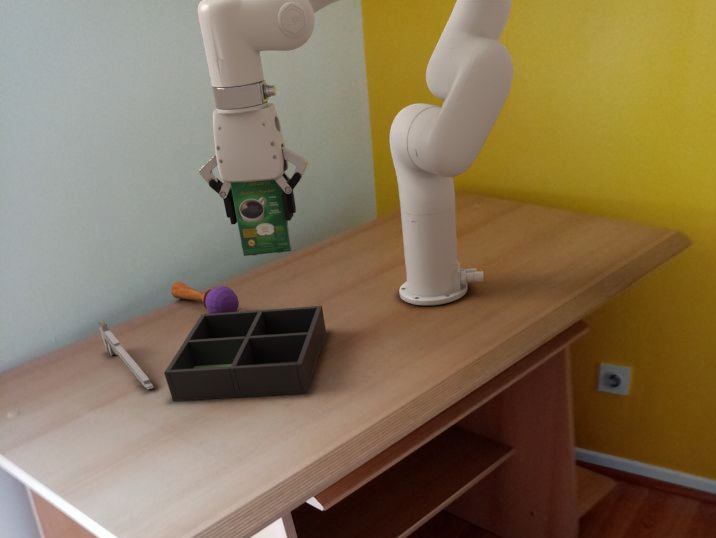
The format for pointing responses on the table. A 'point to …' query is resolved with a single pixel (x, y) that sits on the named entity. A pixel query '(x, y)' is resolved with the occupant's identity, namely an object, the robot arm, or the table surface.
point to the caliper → (122, 354)
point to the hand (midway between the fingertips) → (262, 219)
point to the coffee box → (261, 217)
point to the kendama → (209, 297)
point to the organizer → (248, 354)
